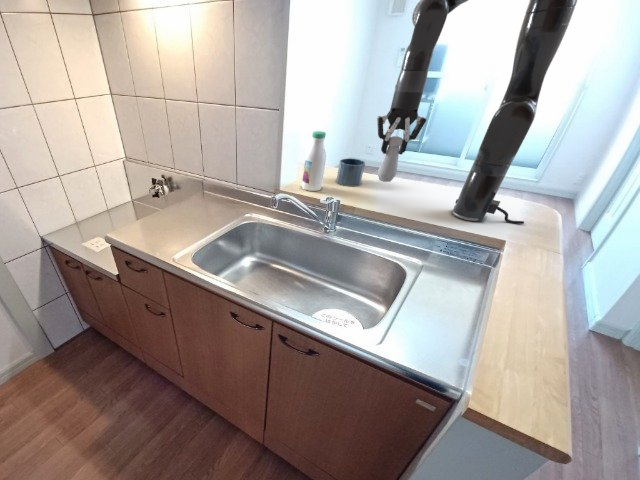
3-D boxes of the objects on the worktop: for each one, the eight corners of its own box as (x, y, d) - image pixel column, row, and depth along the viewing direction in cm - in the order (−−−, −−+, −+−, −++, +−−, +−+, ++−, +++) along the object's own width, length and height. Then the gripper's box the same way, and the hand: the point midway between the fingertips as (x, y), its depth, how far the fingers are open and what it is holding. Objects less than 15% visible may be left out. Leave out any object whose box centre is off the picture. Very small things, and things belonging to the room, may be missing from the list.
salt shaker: (397, 182, 105) (409, 139, 97) (379, 182, 105) (390, 139, 97) (390, 177, 109) (402, 134, 101) (373, 177, 110) (383, 135, 102)
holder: (364, 181, 133) (369, 161, 128) (354, 187, 128) (358, 167, 123) (342, 176, 138) (346, 157, 133) (332, 182, 132) (335, 162, 127)
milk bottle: (321, 185, 130) (330, 130, 117) (320, 192, 124) (330, 135, 111) (302, 184, 131) (309, 129, 118) (300, 190, 125) (307, 133, 113)
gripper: (385, 90, 90) (370, 155, 100) (440, 91, 88) (419, 157, 98) (380, 87, 95) (367, 149, 106) (432, 88, 93) (413, 151, 104)
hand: (392, 153), depth 102 cm, fingers closed on salt shaker, 4 cm apart
